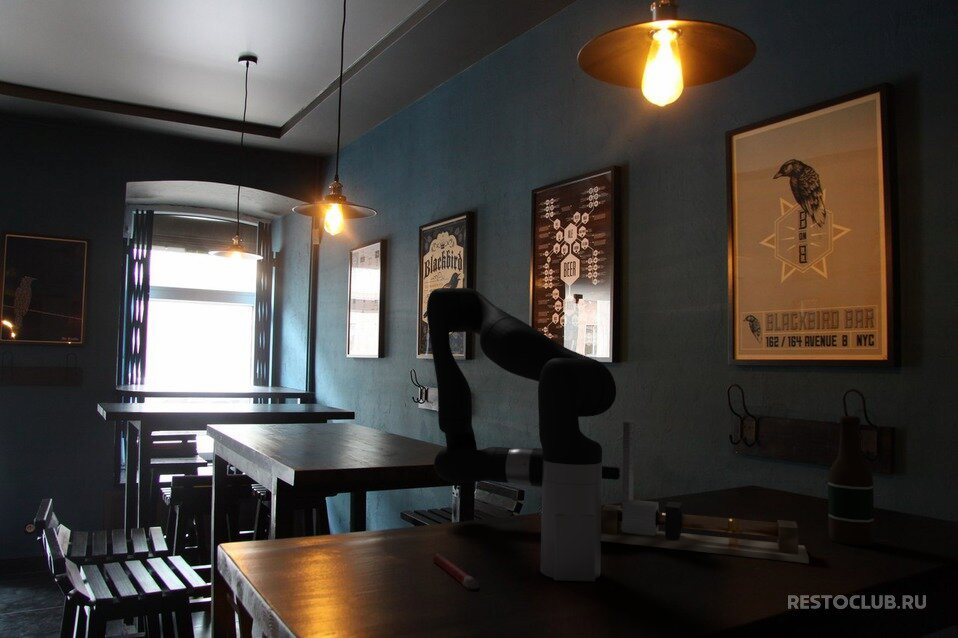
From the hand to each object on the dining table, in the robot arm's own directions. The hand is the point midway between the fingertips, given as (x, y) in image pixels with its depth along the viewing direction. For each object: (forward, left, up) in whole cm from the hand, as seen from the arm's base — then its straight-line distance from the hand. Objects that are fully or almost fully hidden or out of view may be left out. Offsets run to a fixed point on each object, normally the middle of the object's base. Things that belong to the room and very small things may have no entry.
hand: (619, 473), depth 136 cm
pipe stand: (-5, -13, -12) cm, 19 cm away
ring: (-4, -9, -11) cm, 15 cm away
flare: (-27, +31, -13) cm, 43 cm away
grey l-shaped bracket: (-1, -4, -10) cm, 11 cm away
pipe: (-5, -13, -9) cm, 17 cm away
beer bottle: (+1, -45, -12) cm, 47 cm away
